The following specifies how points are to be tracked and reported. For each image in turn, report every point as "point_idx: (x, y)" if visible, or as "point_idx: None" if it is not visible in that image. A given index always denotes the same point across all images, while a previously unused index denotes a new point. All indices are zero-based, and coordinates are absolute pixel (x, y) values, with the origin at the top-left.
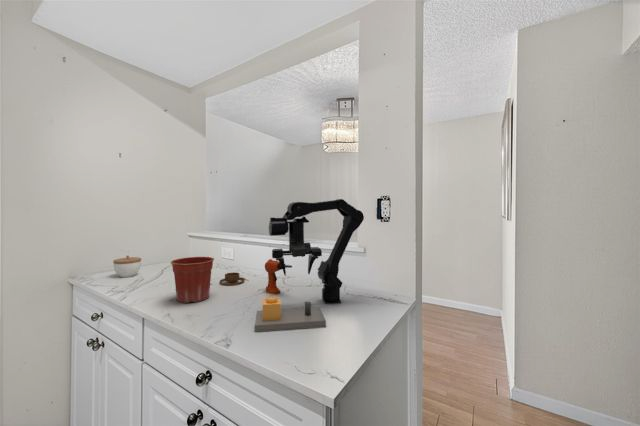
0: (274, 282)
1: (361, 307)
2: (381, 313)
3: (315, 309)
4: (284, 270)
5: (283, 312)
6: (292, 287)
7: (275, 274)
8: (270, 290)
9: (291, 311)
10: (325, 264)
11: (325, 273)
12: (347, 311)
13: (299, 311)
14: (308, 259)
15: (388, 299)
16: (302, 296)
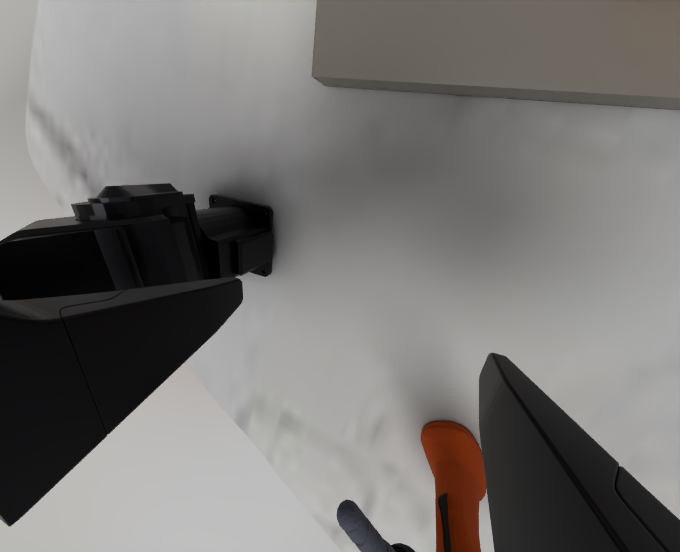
0: (450, 490)
1: (152, 109)
2: (94, 8)
3: (343, 33)
4: (535, 401)
5: (596, 4)
6: (352, 444)
7: (444, 544)
8: (474, 455)
9: (517, 21)
10: (21, 282)
11: (112, 220)
12: (205, 70)
13: (457, 9)
14: (97, 442)
15: (75, 169)
16: (342, 335)
